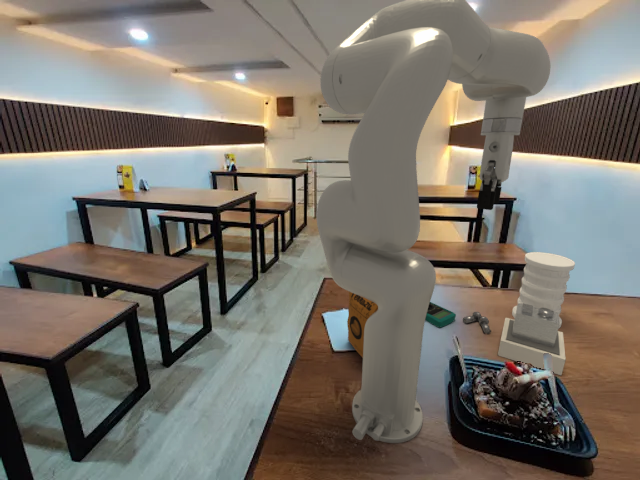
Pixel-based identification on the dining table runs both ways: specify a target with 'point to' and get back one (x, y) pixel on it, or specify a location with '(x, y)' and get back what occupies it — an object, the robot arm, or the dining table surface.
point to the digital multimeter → (439, 315)
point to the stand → (531, 349)
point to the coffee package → (358, 319)
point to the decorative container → (544, 281)
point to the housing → (536, 324)
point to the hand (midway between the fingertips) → (488, 205)
